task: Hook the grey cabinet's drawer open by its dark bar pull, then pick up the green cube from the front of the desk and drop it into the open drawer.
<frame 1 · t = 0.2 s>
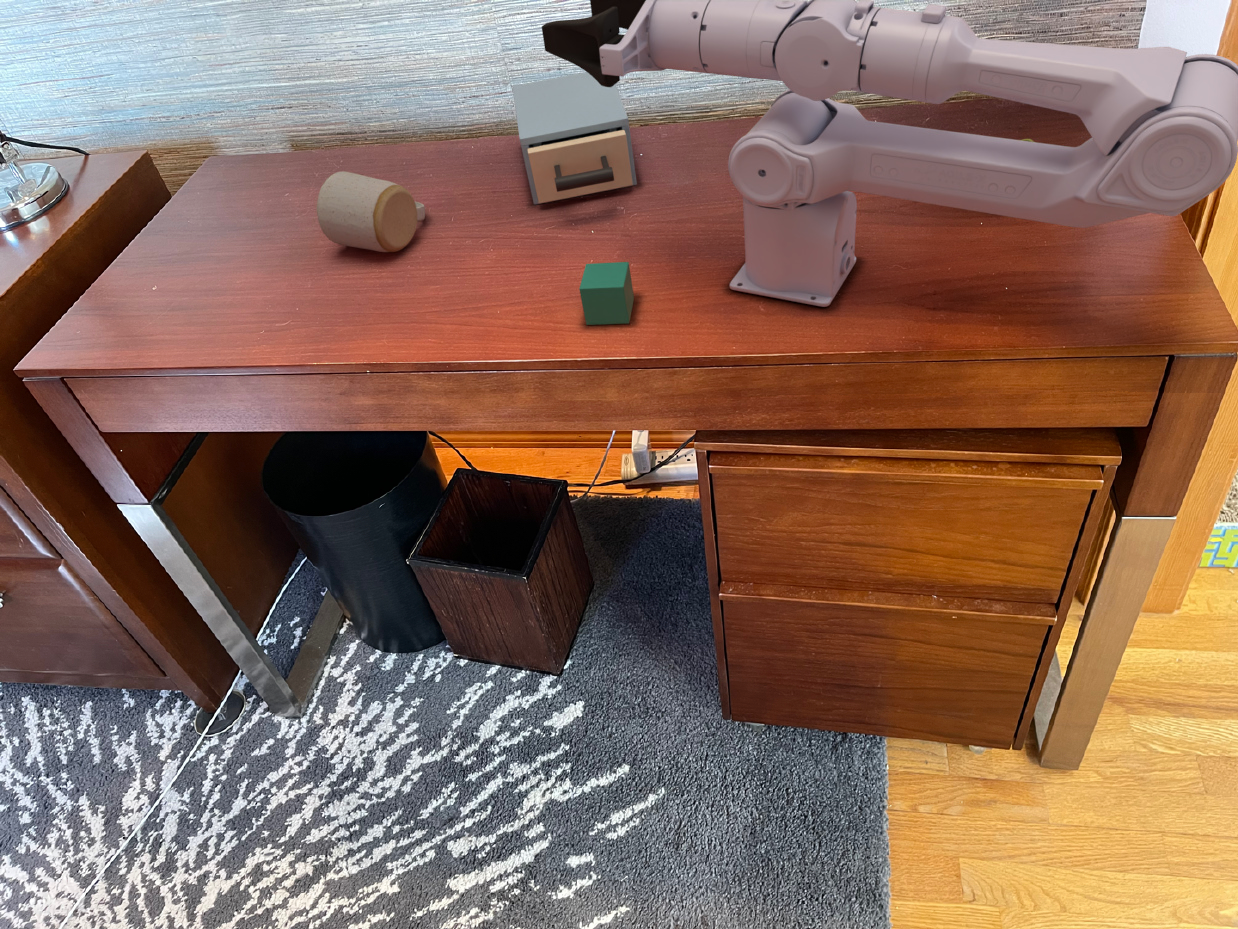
hand: (569, 21, 77), 22 cm above the table, tool horizontal, fingers open, 7 cm apart
drawer: (577, 151, 99), point 4 cm above the table, slide at 0.5 cm
ceramic mug: (386, 239, 99), on the table
green cube: (610, 311, 83), on the table
grey cabinet: (578, 165, 105), on the table
olive green square dish: (1007, 187, 89), on the table
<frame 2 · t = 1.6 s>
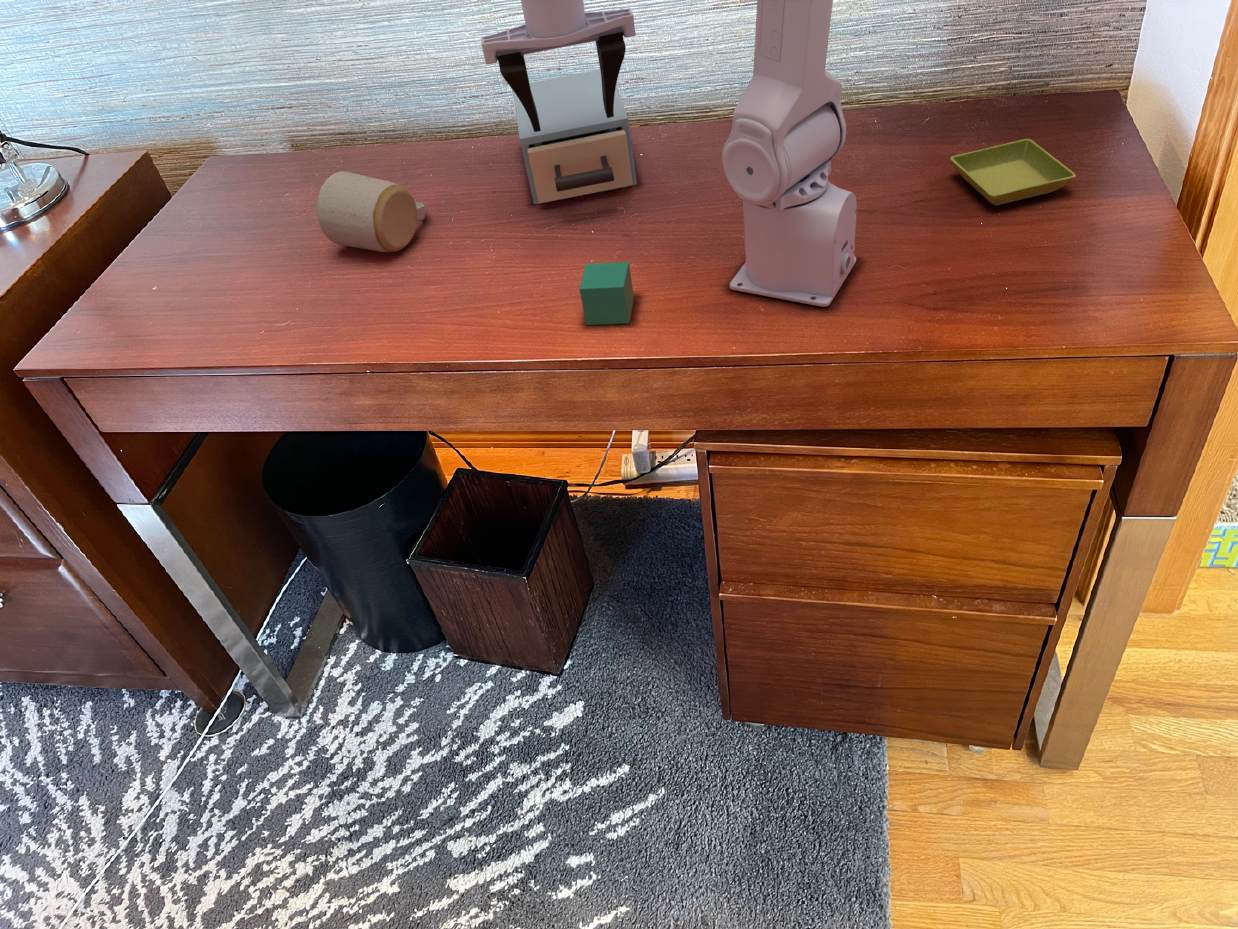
hand: (573, 120, 91), 9 cm above the table, tool pointing down, fingers open, 7 cm apart
nothing on the table moved.
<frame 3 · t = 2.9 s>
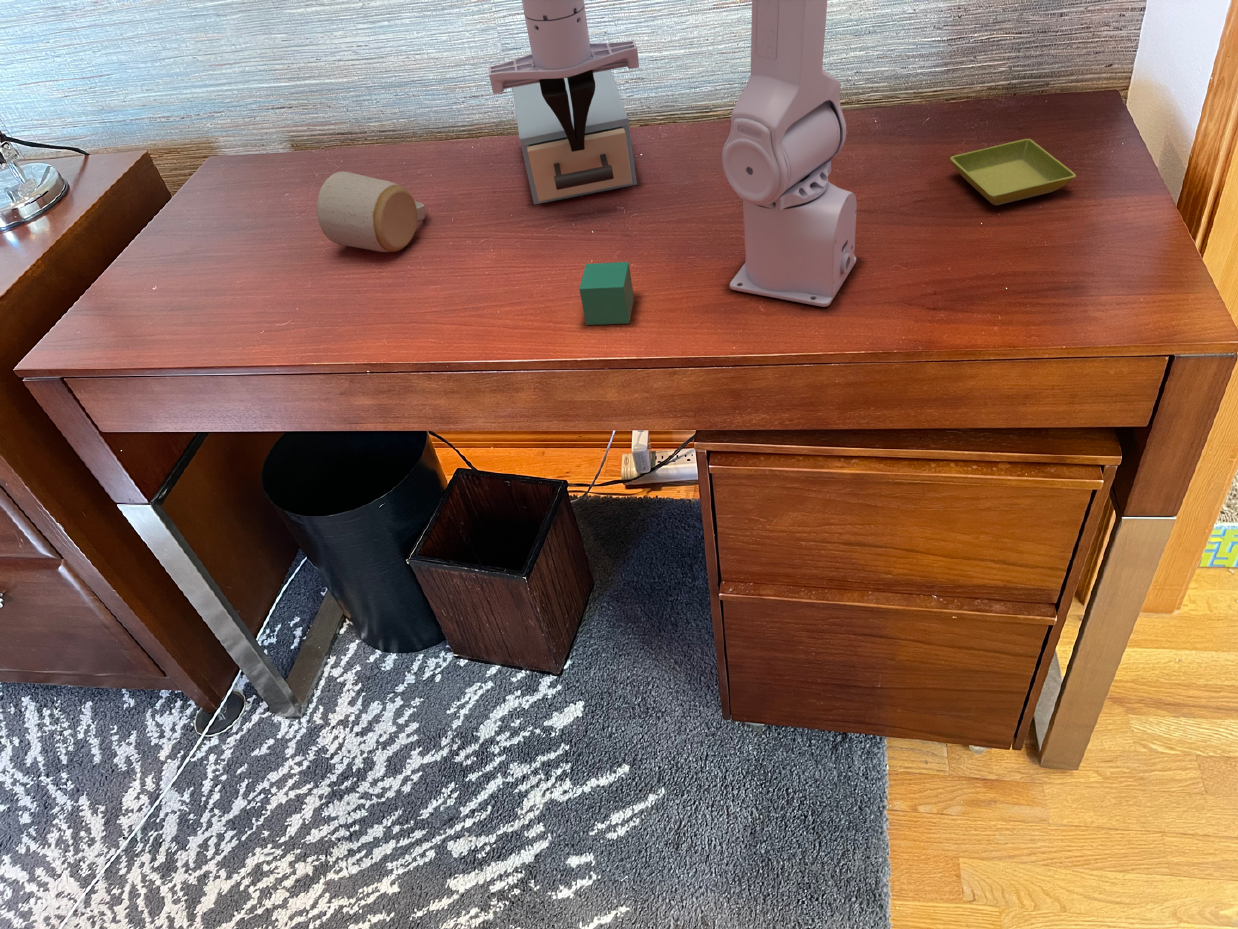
hand: (576, 146, 93), 6 cm above the table, tool pointing down, fingers closed, pressing on drawer
drawer: (576, 149, 99), point 4 cm above the table, slide at 0.1 cm, touching gripper
everything else where it was.
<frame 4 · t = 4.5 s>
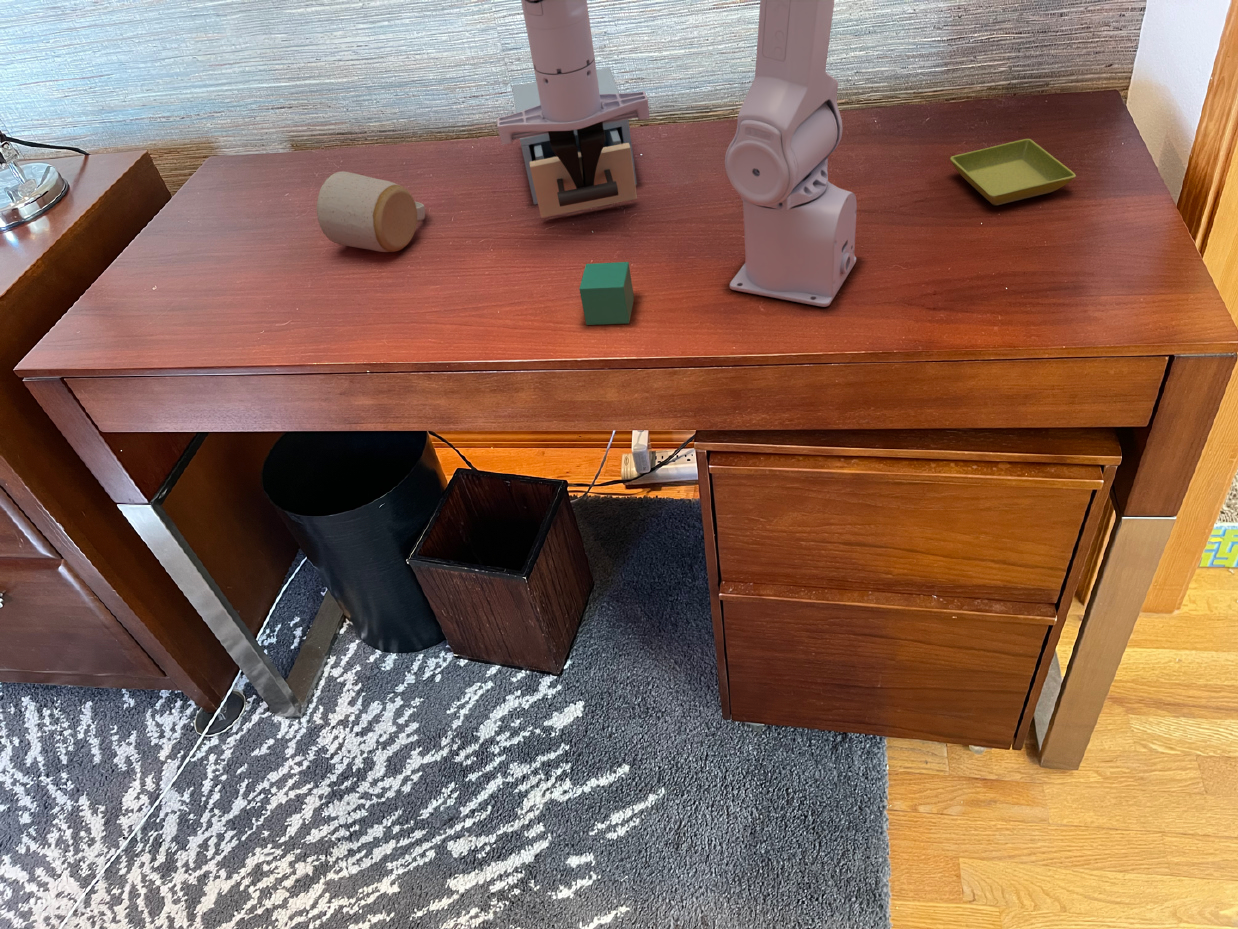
hand: (585, 195, 92), 3 cm above the table, tool pointing down, fingers closed, pressing on drawer
drawer: (580, 164, 96), point 4 cm above the table, slide at 3.7 cm, touching gripper
everything else where it was.
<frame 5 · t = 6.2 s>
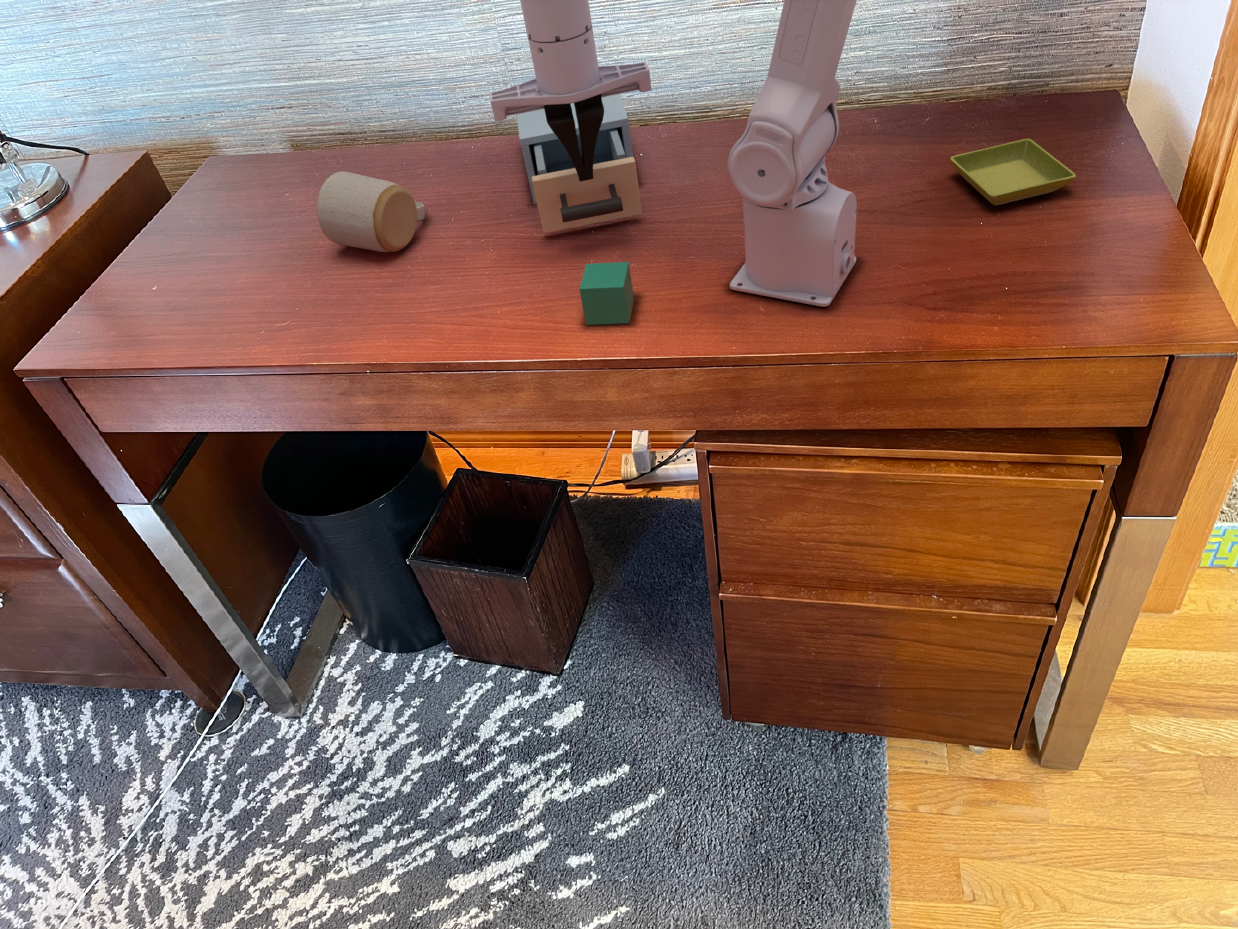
hand: (585, 175, 87), 7 cm above the table, tool pointing down, fingers closed
drawer: (583, 177, 94), point 4 cm above the table, slide at 7.0 cm
everything else where it was.
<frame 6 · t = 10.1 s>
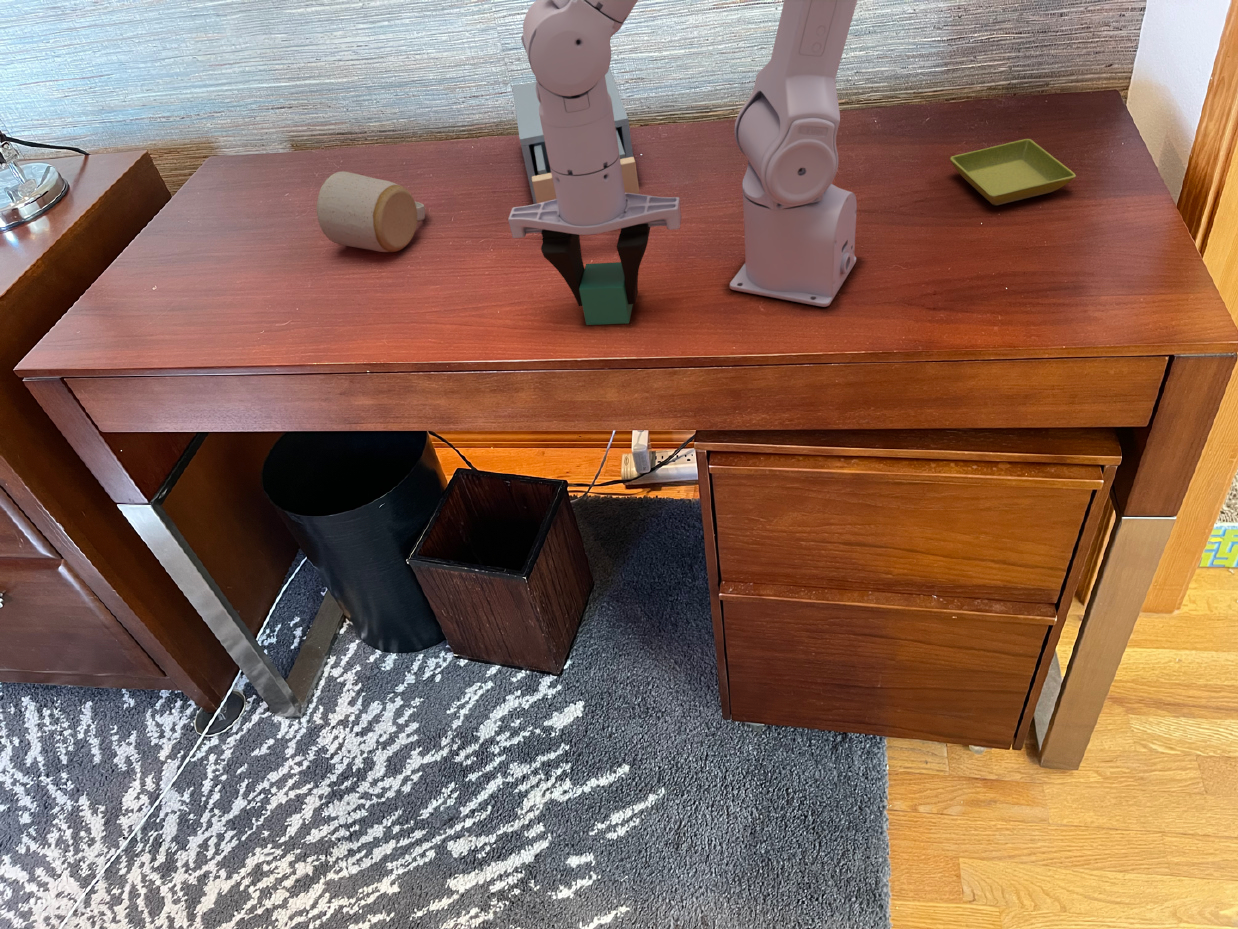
hand: (608, 298, 82), 1 cm above the table, tool pointing down, fingers closed on green cube, 4 cm apart
green cube: (610, 311, 83), on the table, touching gripper
everything else where it was.
when the fingers open (5 cm above the table, at t = 15.8 s): green cube stays where it is, resting on drawer.
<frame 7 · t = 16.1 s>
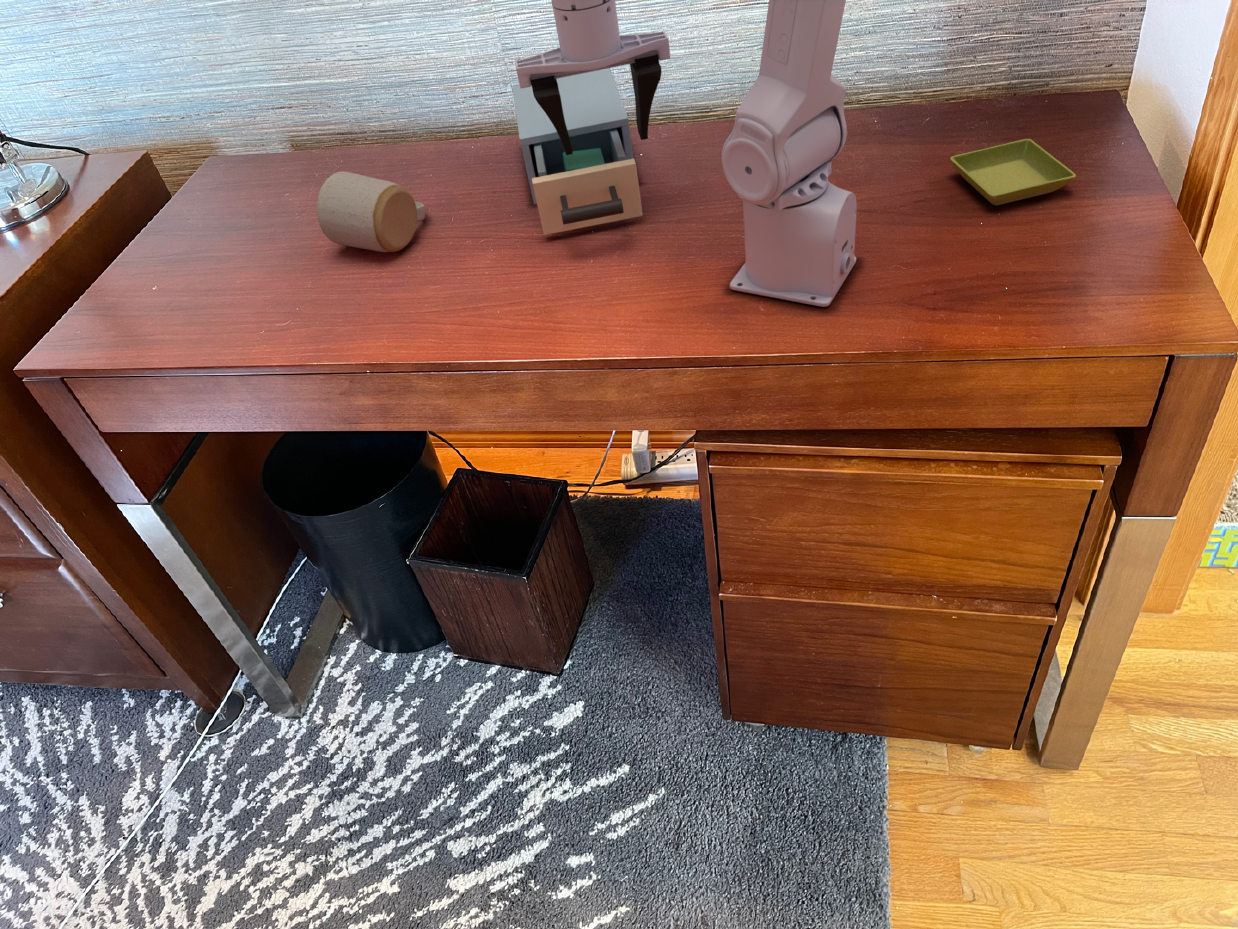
hand: (605, 142, 91), 8 cm above the table, tool pointing down, fingers open, 7 cm apart
drawer: (584, 179, 94), point 4 cm above the table, slide at 7.4 cm, touching green cube
green cube: (586, 194, 95), point 2 cm above the table, touching drawer
everything else where it was.
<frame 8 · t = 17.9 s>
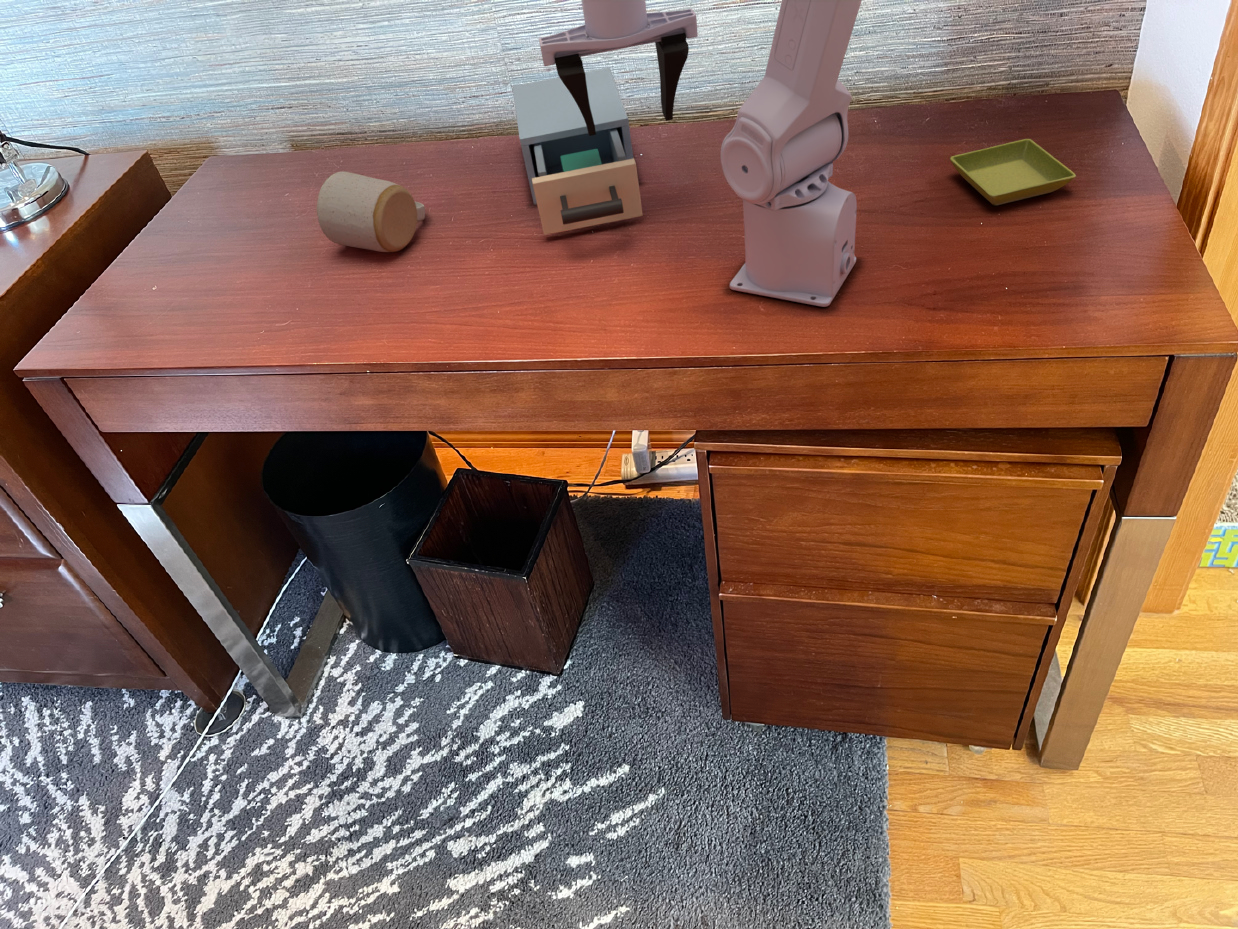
hand: (629, 123, 89), 9 cm above the table, tool pointing down, fingers open, 7 cm apart
nothing on the table moved.
at the end: drawer pulled out 7.4 cm at the most during the clip, back to 7.4 cm at the end; drawer slide at 7.4 cm; green cube inside the target area in the drawer (0.4 cm from its centre), point 2.0 cm above the grey cabinet's base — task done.
